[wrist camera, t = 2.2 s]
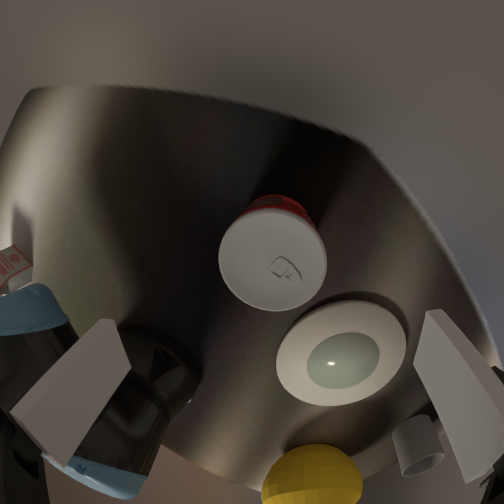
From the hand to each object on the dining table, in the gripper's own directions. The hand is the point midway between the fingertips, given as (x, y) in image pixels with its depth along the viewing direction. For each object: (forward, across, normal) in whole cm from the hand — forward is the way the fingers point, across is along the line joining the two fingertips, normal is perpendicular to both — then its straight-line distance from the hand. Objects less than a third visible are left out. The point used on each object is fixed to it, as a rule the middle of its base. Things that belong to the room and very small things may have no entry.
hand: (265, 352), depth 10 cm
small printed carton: (+21, +45, +2) cm, 50 cm away
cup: (+21, -25, +40) cm, 51 cm away
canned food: (+21, 0, 0) cm, 21 cm away
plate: (+21, -8, +18) cm, 28 cm away
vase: (+21, -5, +45) cm, 50 cm away
